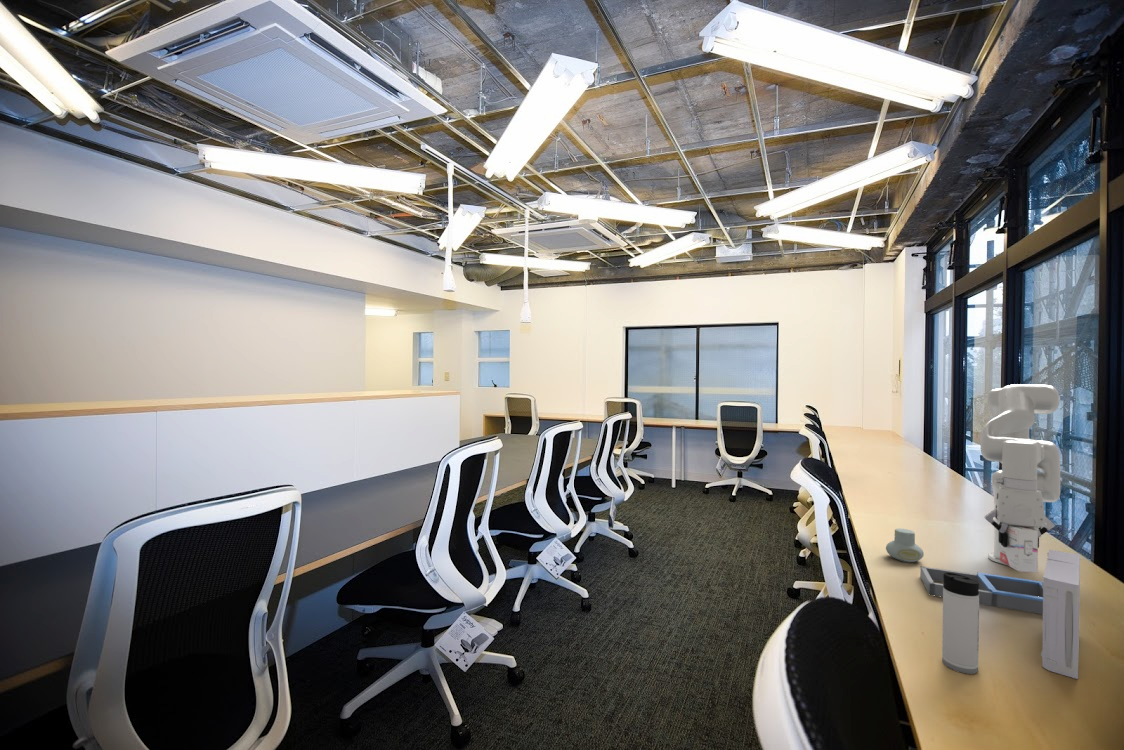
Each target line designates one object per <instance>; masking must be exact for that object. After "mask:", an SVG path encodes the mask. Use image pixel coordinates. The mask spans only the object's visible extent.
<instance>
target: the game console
mask: <svg viewBox="0 0 1124 750" xmlns="http://www.w3.org/2000/svg"><path fill="white" fill-rule="evenodd" d="M1046 559H1047V560H1046V565H1045V570H1044V573H1043V576H1042V577H1043V579H1042V588H1043V614H1042V649H1041V651H1040V657H1041V658H1042V659H1041V661H1042V667H1043V668H1044V669H1046V670H1048V671H1049V672H1053V673H1056V674H1059V675H1062V676H1066V677H1069V678H1072V679H1076V680H1078V679H1079V658H1080V657H1079V655H1080V653H1079V652H1080V647H1079V646H1080V605H1081V604H1080V594H1081V593H1080V592H1081V589H1080V585H1081V584H1080V582H1081V578H1080V577H1081V554H1077V553H1072V552H1068V551H1066V552H1065V551H1061V550H1056V549H1055V550H1054V549H1048V552H1047V558H1046Z"/></svg>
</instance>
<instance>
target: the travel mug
mask: <svg viewBox="0 0 1124 750" xmlns="http://www.w3.org/2000/svg"><path fill="white" fill-rule="evenodd" d="M942 584H943V598H942V635H941V636H942V639H941V640H942V642H941V643H942V645H941V646H942V647H941V648H942V649H941V651H942V652H941V653H942V654H941V655H942V656H941V660H942V664H943V665H945V666H946V667H947V668H949V669H950V670H952V669H953V670H952V671H955V672H957V671H958V673H960V672H961V673H962V674H965V673H967V675H974V674H975V675H976V674H977V673H978V672H979V652H980V651H979V649H980V648H979V639H980V638H979V637H980V636H979V635H980V631H979V630H980V629H979V628H980V626H979V625H980V624H979V623H980V604H979V591H978V590H979V582H977V581H974V580H972V579H969V577H966V576H963V575H959V574H955V573H944V576H943V582H942Z"/></svg>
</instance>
